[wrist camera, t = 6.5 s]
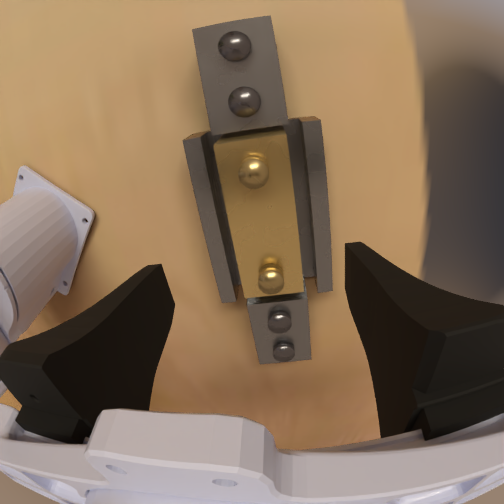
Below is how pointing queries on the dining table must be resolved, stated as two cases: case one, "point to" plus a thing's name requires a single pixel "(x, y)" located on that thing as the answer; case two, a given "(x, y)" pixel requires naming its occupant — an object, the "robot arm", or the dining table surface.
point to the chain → (302, 168)
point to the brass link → (261, 210)
